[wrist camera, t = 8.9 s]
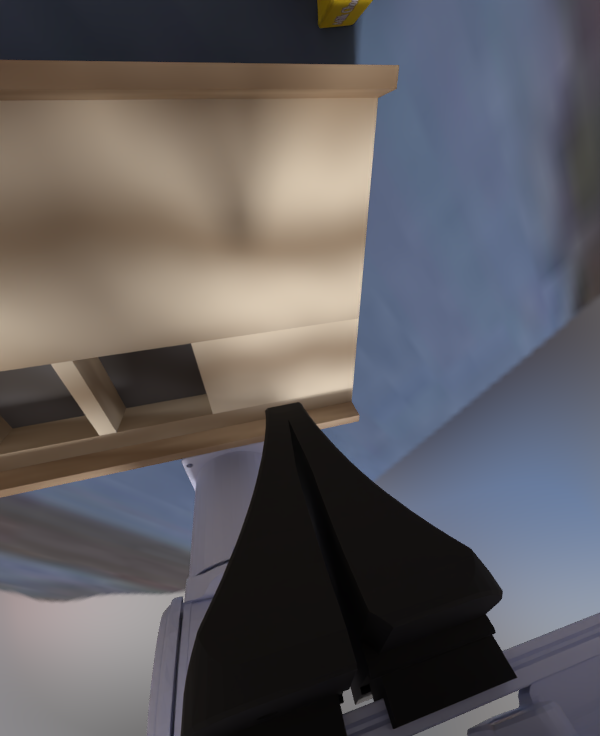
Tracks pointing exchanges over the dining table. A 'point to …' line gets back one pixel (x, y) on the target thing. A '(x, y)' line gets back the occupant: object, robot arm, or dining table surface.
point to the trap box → (176, 256)
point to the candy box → (340, 12)
